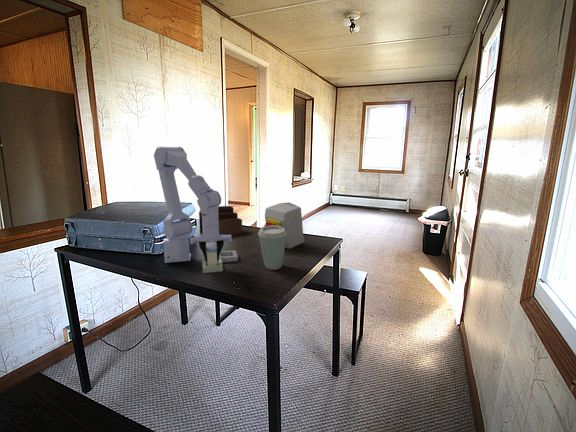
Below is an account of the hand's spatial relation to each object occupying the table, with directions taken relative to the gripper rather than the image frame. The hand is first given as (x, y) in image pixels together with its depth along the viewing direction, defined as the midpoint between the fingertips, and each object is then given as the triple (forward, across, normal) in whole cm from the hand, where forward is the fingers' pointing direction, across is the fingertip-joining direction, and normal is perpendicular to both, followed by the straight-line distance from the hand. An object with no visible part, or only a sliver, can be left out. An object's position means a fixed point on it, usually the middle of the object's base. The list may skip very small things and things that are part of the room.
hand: (212, 260), depth 110 cm
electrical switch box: (+3, +32, +21) cm, 38 cm away
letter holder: (+4, +7, +48) cm, 48 cm away
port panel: (+3, +4, +9) cm, 10 cm away
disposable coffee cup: (+3, +22, -4) cm, 23 cm away
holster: (+3, 0, 0) cm, 3 cm away
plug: (+2, 0, 0) cm, 2 cm away
